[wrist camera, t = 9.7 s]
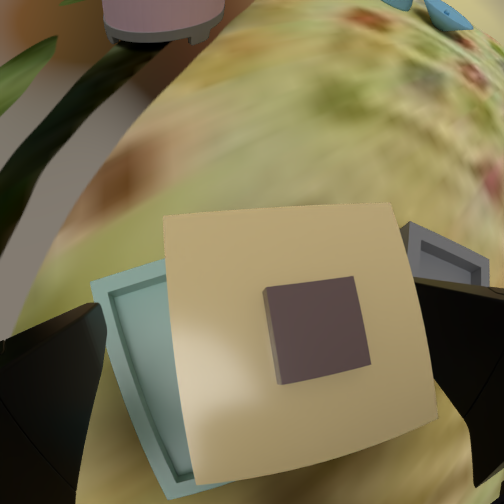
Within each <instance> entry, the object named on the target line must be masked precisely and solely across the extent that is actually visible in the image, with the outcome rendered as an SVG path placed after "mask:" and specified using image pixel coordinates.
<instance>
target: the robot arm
mask: <svg viewBox="0 0 504 504" xmlns="http://www.w3.org/2000/svg"><path fill="white" fill-rule="evenodd" d="M413 279H414V283H415V287H416V291H417V296H418V300H419V304H420V309H421V313H422V318H423V322H424V327H425V332H426V337H427V343H428V348H429V354H430V360H431V366H432V373H433V378H434V379H435V381H436V382H437V383H438V385H439V386H440V387H441V389H442V390H443V391H444V393H445V394H446V396H447V397H448V398H449V400H450V401H451V402H452V404H453V405H454V407H455V408H456V409H457V411H458V412H459V414H460V415H461V416H462V418H463V419H464V421H465V422H466V424H467V426H468V429H469V433H470V441H471V451H472V464H473V483H474V486H475V488H477V487H478V486H480V485H481V484H483V483H484V482H485V481H487V480H488V479H490V478H491V477H492V476H494V475H495V474H496V473H498V472H499V471H500V470H502V469H503V468H504V288H496V287H485V286H478V285H471V284H463V283H456V282H449V281H441V280H434V279H427V278H419V277H413ZM106 339H107V325H106V321H105V318H104V314H103V311H102V307H101V305H100V303H98V302H95V303H86V304H84V305H81V306H79V307H77V308H75V309H72V310H70V311H68V312H66V313H63V314H61V315H59V316H57V317H54V318H52V319H50V320H48V321H45V322H43V323H41V324H39V325H36V326H34V327H32V328H30V329H28V330H25V331H23V332H21V333H19V334H17V335H14V336H12V337H10V338H8V339H6V340H5V341H4V340H2V341H0V504H75V499H76V492H75V491H76V490H77V483H78V477H79V471H80V466H81V460H82V455H83V450H84V444H85V440H86V435H87V430H88V425H89V421H90V417H91V412H92V408H93V404H94V400H95V396H96V392H97V388H98V384H99V380H100V376H101V372H102V367H103V360H104V353H105V346H106ZM491 504H504V481H503V482H502V483H501V490H500V496H499V498H497V499H496V500H495V501H494V502H492V503H491Z"/></svg>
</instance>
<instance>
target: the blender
mask: <svg viewBox="0 0 504 504" xmlns="http://www.w3.org/2000/svg"><path fill="white" fill-rule="evenodd" d="M102 4H103V10H104V15H103V19H104V27H105V30H106V34H107V37H108V39H109V41H110V42H111V43H112V44H115V43H117V42H119V39H120V40H123V41H129V42H139V43H153V42H166V41H173V40H178V39H183V38H188V43H190V44H191V45H195V44H198V43H201V42H203V41H205V40H207V39H208V38H209V33H210V30H211V29H212V28H213V27H215V26H216V25H217V24H218V23H219V22H220V21H221V20H222V18H223V15H224V8H225V0H102Z"/></svg>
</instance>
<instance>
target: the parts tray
mask: <svg viewBox="0 0 504 504" xmlns="http://www.w3.org/2000/svg"><path fill="white" fill-rule="evenodd" d="M90 285H91V290H92V294H93V298H94V303H95V302H98V303H100V305H101V307H102V311H103V314H104V318H105V321H106V325H107V339H106V348H107V351H108V354H109V358H110V361H111V364H112V367H113V370H114V373H115V376H116V379H117V382H118V385H119V388H120V391H121V394H122V397H123V400H124V402H125V405H126V408H127V410H128V413H129V416H130V418H131V421H132V423H133V426H134V428H135V431H136V433H137V436H138V438H139V440H140V443H141V445H142V447H143V450H144V452H145V454H146V456H147V459H148V461H149V463H150V465H151V467H152V469H153V472H154V474H155V476H156V478H157V480H158V482H159V484H160V486H161V488H162V490H163V492H164V494H165V496H166V498H167V500H171V499H175V498H180V497H183V496H187V495H191V494H195V493H198V492H202V491H205V490H209V489H212V488H215V487H219V486H222V485H225V484H228V483H231V482H234V481H229V482H222V483H213V484H204V485H196V482H195V477H194V473H193V468H192V463H191V458H190V453H189V447H188V442H187V437H186V431H185V425H184V419H183V413H182V407H181V401H180V394H179V387H178V380H177V373H176V366H175V358H174V350H173V341H172V332H171V323H170V313H169V302H168V291H167V279H166V265H165V258H164V259H161V260H158V261H155V262H152V263H148V264H145V265H142V266H139V267H136V268H132V269H129V270H126V271H123V272H120V273H117V274H113V275H110V276H107V277H104V278H101V279H98V280H95V281H92V282H90ZM236 481H237V480H236Z"/></svg>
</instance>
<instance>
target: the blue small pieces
mask: <svg viewBox="0 0 504 504" xmlns="http://www.w3.org/2000/svg"><path fill="white" fill-rule="evenodd" d="M381 1H383V2H385V3H386V4H388V5H390V6H392V7H394V8H397V9H399V10H402V11H409V9H410V8H411V6H412V2H413V0H381ZM424 2H425V4H426V7H427V10H428V13H429V15H430V18H431V21H432V24H433V25H434V26H435V27H436V28H438V29H439V30H441V31H455V30H472V29H473V26H472V25H471V23H470V22H469V21H468V20H467V19H466V18H465V17H464V16H462V15H461V14H460V13H459V12H458V11H456V10H455V9H454V8H452V7H451V6H449V5H448V4H446V3H444V2H442V1H441V0H424Z"/></svg>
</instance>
